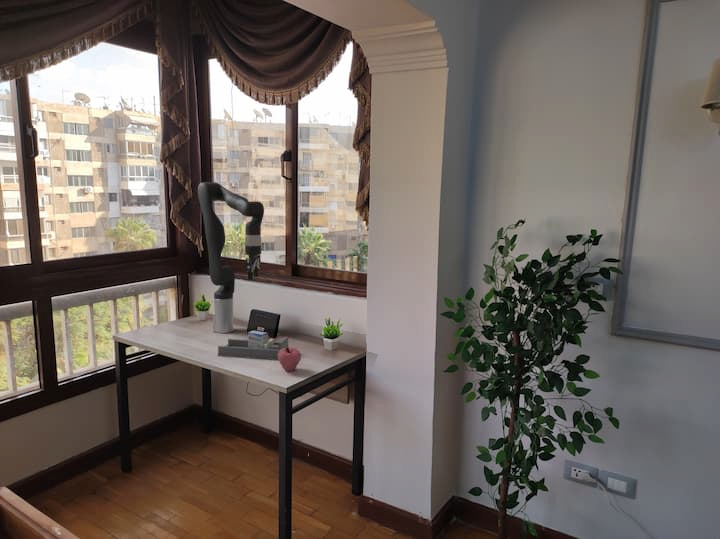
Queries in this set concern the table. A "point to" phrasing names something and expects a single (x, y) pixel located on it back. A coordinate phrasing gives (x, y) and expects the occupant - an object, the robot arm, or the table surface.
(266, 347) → the pusher
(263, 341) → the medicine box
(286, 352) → the apple
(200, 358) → the table surface
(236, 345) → the lane
